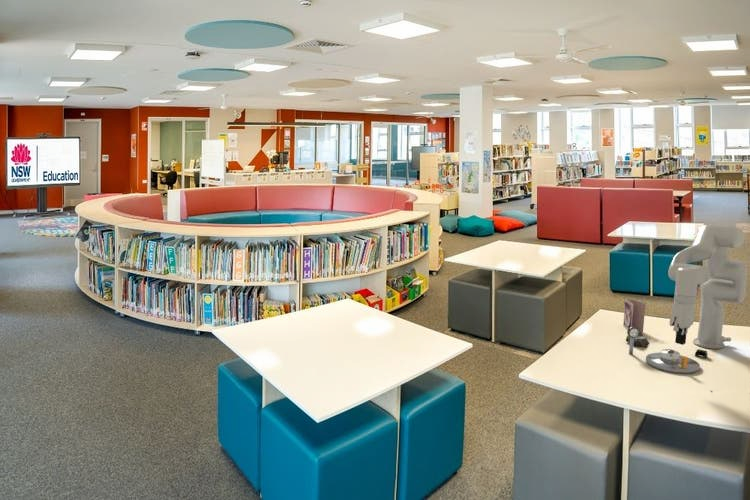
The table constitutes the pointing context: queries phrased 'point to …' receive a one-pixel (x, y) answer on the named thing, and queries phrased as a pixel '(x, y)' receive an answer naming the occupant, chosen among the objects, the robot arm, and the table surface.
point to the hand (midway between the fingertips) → (680, 343)
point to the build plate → (701, 353)
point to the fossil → (638, 341)
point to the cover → (669, 356)
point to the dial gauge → (633, 337)
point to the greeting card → (634, 314)
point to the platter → (682, 367)
